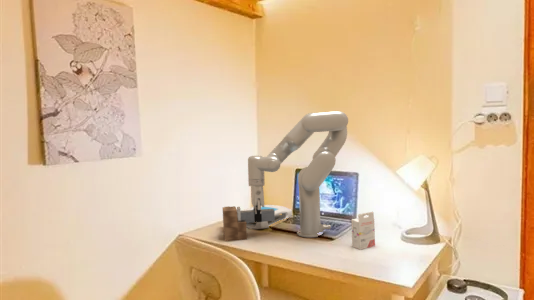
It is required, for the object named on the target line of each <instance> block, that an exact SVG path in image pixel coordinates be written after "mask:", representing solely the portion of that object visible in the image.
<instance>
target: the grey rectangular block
mask: <svg viewBox="0 0 534 300" xmlns="http://www.w3.org/2000/svg"><path fill="white" fill-rule="evenodd" d="M236 209H237V222H246V223H251V224H253V223H256V222H255V210H246V211H241V206H237V207H236ZM261 213H262V222H266V221H268V222H272V221H275V220H276V219H275V211H274V209H261Z"/></svg>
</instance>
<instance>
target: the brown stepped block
mask: <svg viewBox="0 0 534 300" xmlns="http://www.w3.org/2000/svg"><path fill="white" fill-rule="evenodd" d="M222 223H223V238H224V242H235V241H246V240H248V233H247V232H248V231H247V230H248V228H247V227H246V222H237V207H236V206H224V207H222Z"/></svg>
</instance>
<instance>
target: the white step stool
mask: <svg viewBox="0 0 534 300" xmlns="http://www.w3.org/2000/svg"><path fill="white" fill-rule="evenodd" d="M261 209H274V211H275V221H266V222H255V223H246V227H247V230H249V229H250V230H263V229H270V228H269V226H270V225H271V224H273V223H275V222H277V221H279V220H283V219H286V218H289V217H290V218H291V217H293V210H292V209H290V208H288V207H286V206H283V205H276V204H264V207H262V206H261ZM246 210H253V206H251V207H248V208H245V209H240V211H246ZM290 218H289V219H290Z"/></svg>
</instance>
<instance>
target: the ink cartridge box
mask: <svg viewBox="0 0 534 300" xmlns="http://www.w3.org/2000/svg"><path fill="white" fill-rule="evenodd" d="M357 216H358V218H352V219H351V220H350V221H351V245H352V246H351V247H353V248H354V249H357V250H364V249H368V248H371V247H375V246H376V238H375V237H376V235H375V232H376V231H375V228H376V227H375V217H374V212H373V211H370V212H369V211H368V212H364V213H360V214H358V215H357Z"/></svg>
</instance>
